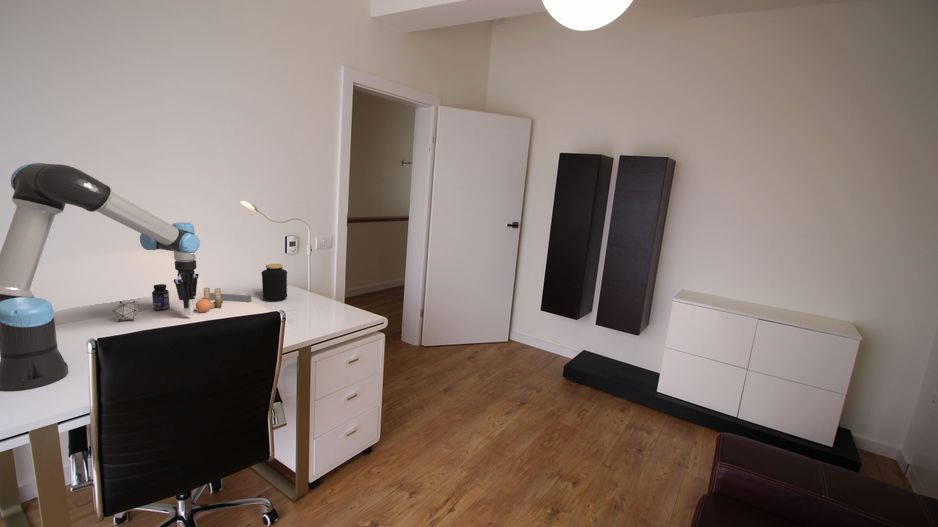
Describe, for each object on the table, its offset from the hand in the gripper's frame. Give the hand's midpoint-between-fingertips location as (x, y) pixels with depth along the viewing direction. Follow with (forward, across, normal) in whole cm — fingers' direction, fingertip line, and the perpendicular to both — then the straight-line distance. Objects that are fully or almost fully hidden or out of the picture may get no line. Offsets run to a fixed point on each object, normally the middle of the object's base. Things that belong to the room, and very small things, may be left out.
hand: (188, 314), depth 185 cm
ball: (-1, +10, 0) cm, 10 cm away
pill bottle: (+2, +11, +20) cm, 22 cm away
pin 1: (+2, +17, +2) cm, 18 cm away
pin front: (+1, +15, 0) cm, 15 cm away
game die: (+2, -6, +22) cm, 22 cm away
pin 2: (+2, +17, -3) cm, 18 cm away
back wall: (+2, +30, 0) cm, 30 cm away
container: (+2, +36, -20) cm, 41 cm away
